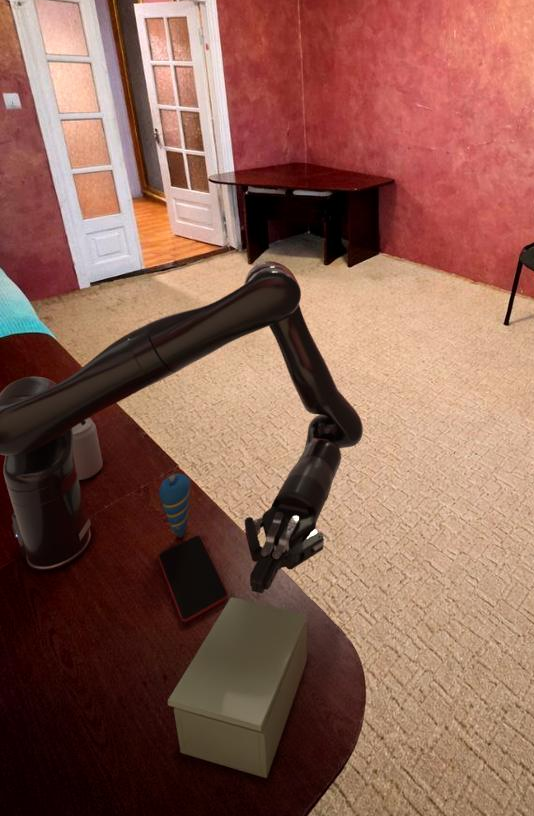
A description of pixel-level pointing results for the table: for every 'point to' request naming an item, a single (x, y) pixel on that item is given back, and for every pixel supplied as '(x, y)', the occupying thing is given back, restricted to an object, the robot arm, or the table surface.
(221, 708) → the lid
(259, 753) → the chest
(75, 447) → the beverage can
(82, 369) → the robot arm
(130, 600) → the table surface
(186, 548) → the smartphone
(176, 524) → the ornament
